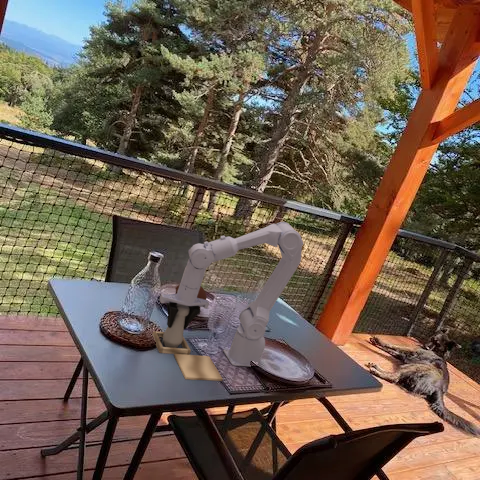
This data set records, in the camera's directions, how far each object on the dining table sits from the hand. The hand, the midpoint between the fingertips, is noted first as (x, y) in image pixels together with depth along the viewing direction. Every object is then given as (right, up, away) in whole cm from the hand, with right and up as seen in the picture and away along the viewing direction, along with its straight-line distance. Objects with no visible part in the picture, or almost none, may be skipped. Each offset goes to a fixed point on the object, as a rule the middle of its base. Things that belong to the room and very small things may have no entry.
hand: (176, 326), depth 133 cm
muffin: (-1, 0, +29) cm, 29 cm away
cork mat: (+7, -10, -6) cm, 14 cm away
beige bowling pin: (-2, -6, +1) cm, 6 cm away
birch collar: (-2, -6, +1) cm, 6 cm away
